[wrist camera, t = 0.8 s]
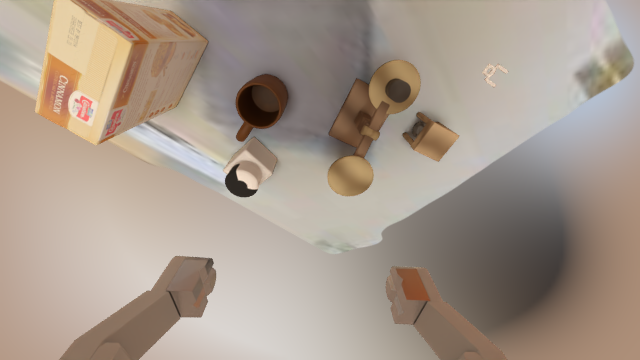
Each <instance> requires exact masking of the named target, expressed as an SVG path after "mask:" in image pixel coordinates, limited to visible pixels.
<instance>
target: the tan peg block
mask: <svg viewBox="0 0 640 360" xmlns="http://www.w3.org/2000/svg"><path fill="white" fill-rule="evenodd" d="M416 116H417V117H418V118H419V119H421V120H422V121H423V122H425V123H426V125H425V127H424V128H423V129H422V131H421V132H420V134H419V135H418V136H417V138H416V139H415V140H413V139H412V138H411V137H410V136H409V135H408V134H407V133H403V137H404V138H405V139H406V140H407V142H408V143H409V144H410V145H411V147H412V148H413V150H415V151H417V152H419V153H421V154H423V155H425V156H427V157H429V158H431V159H434V160H436V161H438V162H439V160H440V159H441V158H442V157H443V156H444V154H445V153H446V152H447V151H448V149H449V148H450V147H451V146H452V145H453V143H454V142H455V141H456V140H457V139H458V137H459V135H457V134H456V133H454V132H453V131H451V130H450V129H448V128H447V127H445V126H444V125H442V124H441V123H439V122H434V121H432V120H430V119H429V118H428V117H426V116H425V115H423V114H422V113H421V112H418V113H417V114H416Z"/></svg>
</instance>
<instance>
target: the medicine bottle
mask: <svg viewBox="0 0 640 360" xmlns="http://www.w3.org/2000/svg"><path fill="white" fill-rule="evenodd" d="M276 162H277V158H276V157H275V156H274V155H273V154H272V153H271V152H270V151H269V150H268V149H267V148H266V147H265V146H263V145H262V144H261V143H260V142H259V141H258V140H257V139H256V138H255V137H253V138H252V139H251V140H250V141H248V142H247V143H246V144H245V145H244V146H243V147H242V148H241V149H240V150H239V151H238V152H237V153H235V154H234V155H233V157H232V158H231V160H230V161H229V162H228V164H227V165H226V167H225V168H224V169H223V171H224V172H225V173H226V174H227V176H226V178H225V184H226V187H227V188H228V190H229V191H230V192H231V193H232V194H234V195H236V196H239V197H250V196H252V195H254V194H255V193H256V192H257V190H258V187H259V185H260V184H261V183H262V182H264V181H265V180H266V179H267V178H269V177H270V176H271V175H272V174H273V171H274V168H275V165H276Z"/></svg>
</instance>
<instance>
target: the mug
mask: <svg viewBox="0 0 640 360" xmlns="http://www.w3.org/2000/svg"><path fill="white" fill-rule="evenodd" d="M287 100H288V94H287V90H286V87H285V86H284V84H283V83H282V82H281V81H280V80H279V79H278V78H277V77H275V76H272V75H267V74H265V75H260V76H257V77H256V78H254V79H252V80H250V81H249V82H247V83H246V84H245V85H244V86H243V87H242V88H241V89H240V90H239V92H238V94H237V97H236V108H237V111H238V114H239V116H240V117H241V118H242V120H243V121H244V123H243V125H242V126H241V128H240V129H239V131H238V133H237V135H236V138H237V140H238V141H240V142H243V141H245V139H246V138H247V137H248V135H249V134H250V132H251V130H252V129H253V127H255V128H259V129H265V128H269V127H271V126H273V125H274V124H275V123H276V122H277V121H278V120H279V119H280V117H281V116H282V114H283V112H284V109H285V107H286V104H287Z"/></svg>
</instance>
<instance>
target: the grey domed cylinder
mask: <svg viewBox="0 0 640 360" xmlns="http://www.w3.org/2000/svg"><path fill="white" fill-rule="evenodd" d="M425 125H426V123H425V122H423V121H420V122H418V123H416V124H415V125H414V127H413V129H412V133H413V135H414V136H415V137H416V138H417V136H418V135H419V134H420V132H421V131H422V129H423V128H424V127H425Z"/></svg>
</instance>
